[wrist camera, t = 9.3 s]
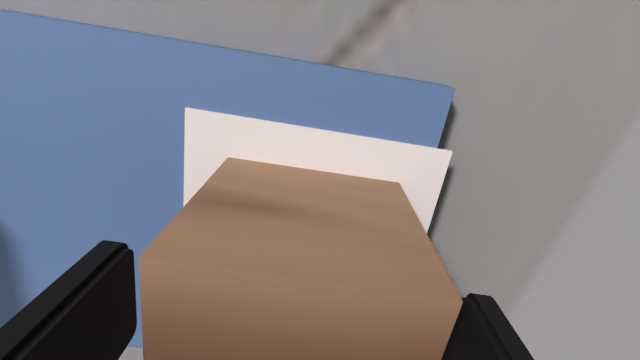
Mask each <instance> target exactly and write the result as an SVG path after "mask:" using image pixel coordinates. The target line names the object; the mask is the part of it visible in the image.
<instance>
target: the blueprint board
mask: <svg viewBox="0 0 640 360" xmlns="http://www.w3.org/2000/svg"><path fill="white" fill-rule="evenodd" d="M454 91H455V88H453V87H450V86H446V85H442V84H436V83H430V82H424V81H418V80H412V79H407V78H401V77H395V76H389V75H383V74H377V73H371V72H366V71H360V70H354V69H348V68H342V67H336V66H330V65H325V64H319V63H313V62H307V61H301V60H295V59H289V58H284V57H278V56H272V55H266V54H260V53H254V52H248V51H242V50H237V49H231V48H225V47H219V46H213V45H207V44H201V43H196V42H190V41H184V40H178V39H172V38H166V37H160V36H155V35H149V34H143V33H137V32H131V31H125V30H119V29H114V28H108V27H102V26H96V25H90V24H84V23H78V22H73V21H67V20H61V19H55V18H49V17H43V16H37V15H32V14H26V13H20V12H14V11H8V10H2V9H0V328H1V327H2V326H3V325H4V324H5V323H7V322H8V321H9V320H10V319H11V318H12V317H14V316H15V315H16V314H17V313H18V312H19V311H20V310H22V309H23V308H24V307H25V306H26V305H27V304H29V303H30V302H31V301H32V300H33V299H34V298H36V297H37V296H38V295H39V294H40V293H41V292H43V291H44V290H45V289H46V288H47V287H48V286H49V285H51V284H52V283H53V282H54V281H55V280H56V279H58V278H59V277H60V276H61V275H62V274H63V273H65V272H66V271H67V270H68V269H69V268H70V267H72V266H73V265H74V264H75V263H76V262H77V261H78V260H80V259H81V258H82V257H83V256H84V255H85V254H87V253H88V252H89V251H90V250H91V249H92V248H94V247H95V246H96V245H97V244H98V243H99V242H101V241H103V240H108V241H115V242H122V243H126V244H127V245H128V249H131V250H133V252H134V268H135V290H136V311H137V327H136V331H135V334H134V336H133V338H132V339H131V341H130V342H129V344H128V345H127V346H131V347H139V348H143V338H142V318H141V299H140V279H139V259H138V258H139V256H140V255H141V254H142V253H143V252H144V251H145V250H146V249H147V247H148V246H149V245H150V244H151V243H152V242H153V241H154V240H155V238H156V237H157V236H158V235H159V234H160V233H161V232H162V231H163V230H164V228H165V227H166V226H167V225H168V224H169V223H170V222H171V221H172V219H173V218H174V217H175V216H176V215H177V214H178V213H179V212H180V210H181V209H182V208H183V207H184V206H185V205H186V204H187V203H188V201H189V200H190V199H191V198H192V197H193V196H194V195H195V194H196V193H197V191H198V190H199V189H200V188H201V187H202V186H203V185H204V184H205V182H206V181H207V180H208V179H209V178H210V177H211V176H212V175H213V173H214V172H215V171H216V170H217V169H218V168H219V167H220V166H221V164H222V163H223V162H224V161H225V160H226V159H227V158H228V157H231V158H237V159H244V160H251V161H258V162H264V163H271V164H278V165H284V166H291V167H298V168H304V169H311V170H318V171H325V172H331V173H338V174H345V175H351V176H358V177H365V178H372V179H378V180H385V181H392V182H398V183H400V185H401V187H402V189H403V191H404V192H405V194H406V196H407V198H408V200H409V202H410V204H411V206H412V207H413V209H414V211H415V213H416V215H417V217H418V219H419V220H420V222H421V224H422V226H423V228H424V230H425V232H426V234H427V232H428V229H429V225H430V222H431V219H432V216H433V213H434V210H435V206H436V203H437V200H438V197H439V194H440V191H441V187H442V184H443V181H444V178H445V175H446V172H447V168H448V165H449V162H450V159H451V156H452V153H453V151H451V150H445V149H439V148H438V145H439V142H440V138H441V135H442V132H443V128H444V125H445V121H446V118H447V115H448V111H449V108H450V105H451V101H452V98H453V95H454Z"/></svg>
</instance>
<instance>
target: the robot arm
mask: <svg viewBox="0 0 640 360" xmlns="http://www.w3.org/2000/svg"><path fill="white" fill-rule="evenodd" d="M462 301H463V304H462V306H461V309H460V312H459V314H458V317H457V319H456V322H455V325H454V327H453V330H452V332H451V335H450V338H449V340H448V343H447V346H446V348H445V351H444V353H443V356H442V359H441V360H534V359H533V357H532V356H531V354H530V353H529V351H528V350H527V348H526V347H525V345H524V344H523V342H522V341H521V339H520V338H519V336H518V335H517V333H516V332H515V330H514V329H513V327H512V326H511V324H510V323H509V321H508V320H507V318H506V317H505V315H504V314H503V312H502V310H501V309H500V307H499V306H498V304H497V303H496V301H495V300H494V299H493V298H492V297H491V296H487V295H480V294H473V293H470V294H468V295H467V297H466V298H462ZM136 327H137V311H136V290H135V268H134V252H133V250H131V249H128V245H127V244H126V243H122V242H115V241H108V240H103V241H101V242H99V243H98V244H97V245H96V246H95V247H94V248H92V249H91V250H90V251H89V252H88V253H87V254H85V255H84V256H83V257H82V258H81V259H80V260H78V261H77V262H76V263H75V264H74V265H73V266H72V267H70V268H69V269H68V270H67V271H66V272H65V273H63V274H62V275H61V276H60V277H59V278H58V279H56V280H55V281H54V282H53V283H52V284H51V285H49V286H48V287H47V288H46V289H45V290H44V291H43V292H41V293H40V294H39V295H38V296H37V297H36V298H34V299H33V300H32V301H31V302H30V303H29V304H27V305H26V306H25V307H24V308H23V309H22V310H20V311H19V312H18V313H17V314H16V315H15V316H14V317H12V318H11V319H10V320H9V321H8V322H7V323H5V324H4V325H3V326H2V327H1V328H0V360H118V359H119V357H120V356H121V354H122V353H123V351H124V350H125V348H126V347H127V345H128V344H129V342H130V341H131V339H132V338H133V336H134V334H135V331H136Z"/></svg>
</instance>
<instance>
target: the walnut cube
mask: <svg viewBox="0 0 640 360" xmlns="http://www.w3.org/2000/svg"><path fill="white" fill-rule="evenodd" d="M138 259H139V279H140V299H141V318H142V338H143V358H144V360H441V359H442V356H443V353H444V351H445V348H446V346H447V343H448V340H449V338H450V335H451V332H452V330H453V327H454V325H455V322H456V319H457V317H458V314H459V312H460V309H461V306H462V304H463V301H462V299H461V297H460V295H459V293H458V291H457V289H456V288H455V286H454V284H453V282H452V280H451V278H450V276H449V275H448V273H447V271H446V269H445V267H444V265H443V263H442V262H441V260H440V258H439V256H438V254H437V252H436V250H435V248H434V247H433V245H432V243H431V241H430V239H429V237H428V235H427V234H426V232H425V230H424V228H423V226H422V224H421V222H420V220H419V219H418V217H417V215H416V213H415V211H414V209H413V207H412V206H411V204H410V202H409V200H408V198H407V196H406V194H405V192H404V191H403V189H402V187H401V185H400V183H398V182H392V181H385V180H378V179H372V178H365V177H358V176H351V175H345V174H338V173H331V172H325V171H318V170H311V169H304V168H298V167H291V166H284V165H278V164H271V163H264V162H258V161H251V160H244V159H237V158H231V157H228V158H227V159H226V160H225V161H224V162H223V163H222V164H221V166H220V167H219V168H218V169H217V170H216V171H215V172H214V173H213V175H212V176H211V177H210V178H209V179H208V180H207V181H206V182H205V184H204V185H203V186H202V187H201V188H200V189H199V190H198V191H197V193H196V194H195V195H194V196H193V197H192V198H191V199H190V200H189V201H188V203H187V204H186V205H185V206H184V207H183V208H182V209H181V210H180V212H179V213H178V214H177V215H176V216H175V217H174V218H173V219H172V221H171V222H170V223H169V224H168V225H167V226H166V227H165V228H164V230H163V231H162V232H161V233H160V234H159V235H158V236H157V237H156V238H155V240H154V241H153V242H152V243H151V244H150V245H149V246H148V247H147V249H146V250H145V251H144V252H143V253H142V254H141V255H140V256H139V258H138Z"/></svg>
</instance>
